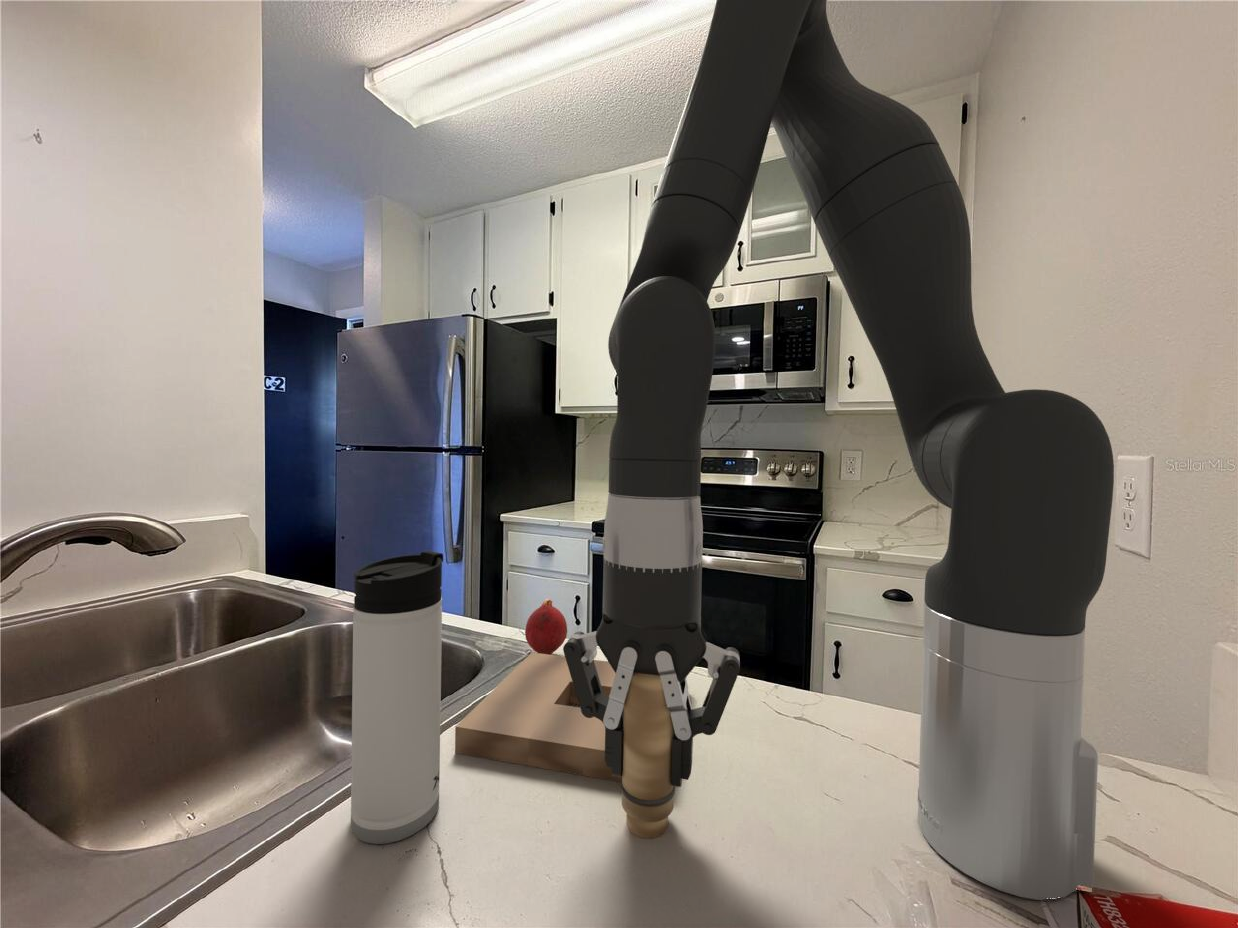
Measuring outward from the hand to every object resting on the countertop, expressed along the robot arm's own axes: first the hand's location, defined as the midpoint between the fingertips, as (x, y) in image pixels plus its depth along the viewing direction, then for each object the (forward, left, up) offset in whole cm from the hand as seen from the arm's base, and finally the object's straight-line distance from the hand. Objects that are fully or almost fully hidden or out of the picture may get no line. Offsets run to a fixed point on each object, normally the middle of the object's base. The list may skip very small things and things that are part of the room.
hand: (647, 773), depth 38 cm
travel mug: (+19, +4, -4) cm, 20 cm away
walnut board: (+9, -13, -4) cm, 16 cm away
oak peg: (0, 0, -4) cm, 4 cm away
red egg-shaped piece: (+19, -27, -4) cm, 33 cm away
